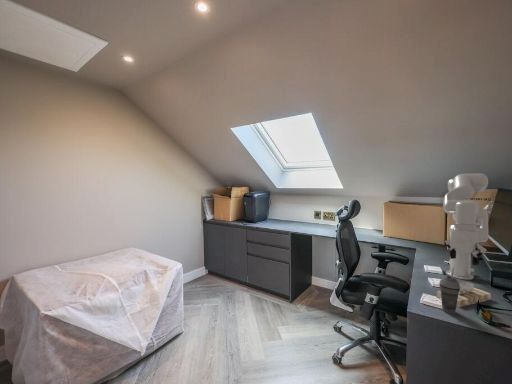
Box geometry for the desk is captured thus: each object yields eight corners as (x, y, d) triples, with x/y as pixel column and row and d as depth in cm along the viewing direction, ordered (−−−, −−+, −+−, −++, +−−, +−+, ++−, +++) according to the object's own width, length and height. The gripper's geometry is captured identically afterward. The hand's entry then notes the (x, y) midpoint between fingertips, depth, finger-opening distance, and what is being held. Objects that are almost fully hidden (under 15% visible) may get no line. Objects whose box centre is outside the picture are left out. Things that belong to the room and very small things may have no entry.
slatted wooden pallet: (467, 290, 126) (467, 285, 126) (490, 299, 117) (490, 293, 116) (436, 297, 120) (436, 291, 119) (458, 307, 110) (459, 300, 110)
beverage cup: (443, 305, 112) (444, 263, 111) (462, 313, 105) (464, 268, 104) (435, 309, 108) (436, 266, 107) (454, 317, 102) (456, 271, 101)
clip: (466, 295, 121) (467, 281, 121) (473, 298, 118) (474, 284, 118) (452, 298, 118) (453, 284, 118) (459, 301, 115) (459, 287, 115)
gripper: (441, 224, 124) (440, 256, 125) (481, 231, 107) (479, 268, 108) (451, 223, 126) (450, 255, 127) (492, 229, 110) (490, 266, 111)
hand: (463, 261), depth 118 cm, fingers open, 9 cm apart
